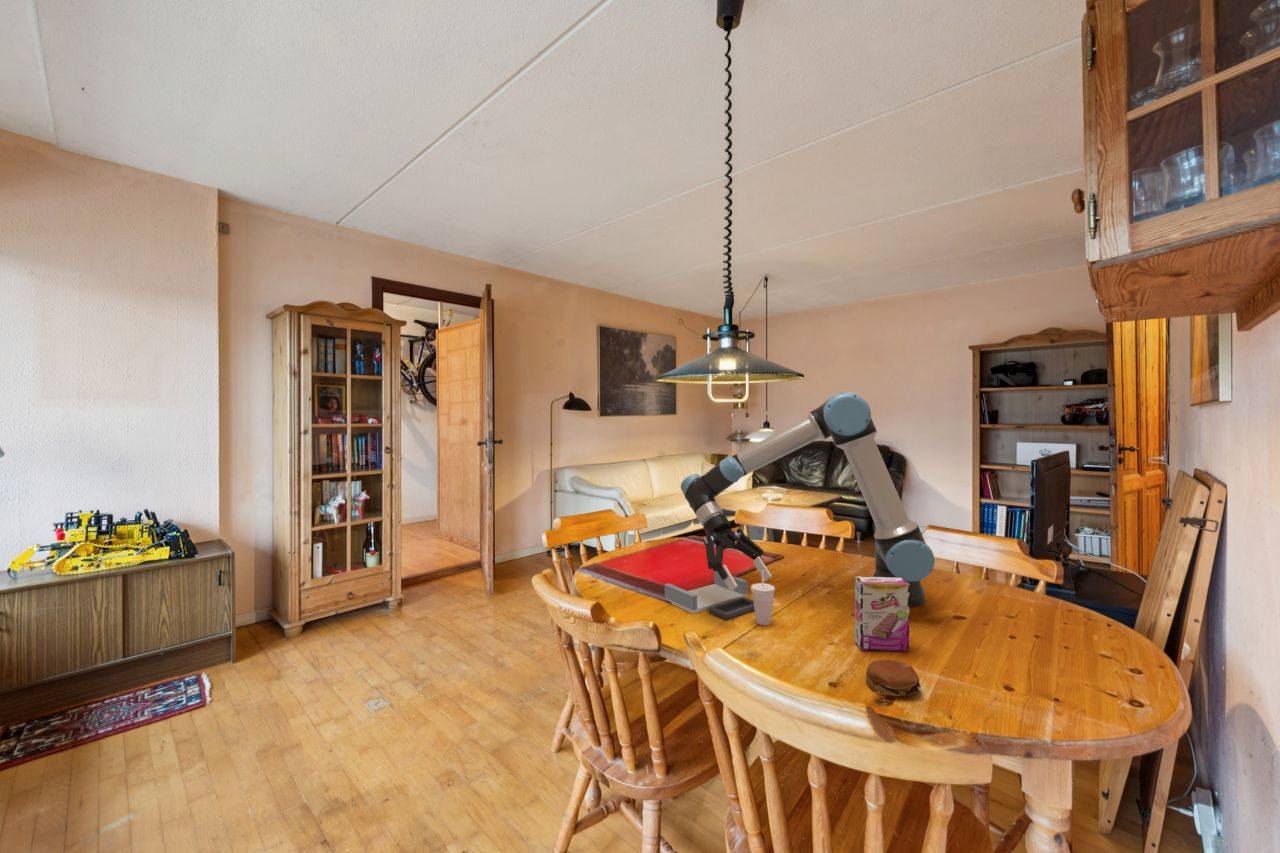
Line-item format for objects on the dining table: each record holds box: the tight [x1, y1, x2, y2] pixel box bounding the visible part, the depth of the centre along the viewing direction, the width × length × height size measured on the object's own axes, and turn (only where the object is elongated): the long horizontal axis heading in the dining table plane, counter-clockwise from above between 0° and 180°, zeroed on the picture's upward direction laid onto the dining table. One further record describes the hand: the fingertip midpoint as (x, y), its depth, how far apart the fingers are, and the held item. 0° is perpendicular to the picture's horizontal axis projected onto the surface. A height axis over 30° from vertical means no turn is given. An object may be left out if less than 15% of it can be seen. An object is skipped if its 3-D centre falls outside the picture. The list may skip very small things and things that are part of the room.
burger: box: [865, 659, 921, 697], centre depth 103 cm, size 10×9×5 cm
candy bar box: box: [854, 575, 910, 653], centre depth 121 cm, size 11×5×16 cm, turn 84°
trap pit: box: [708, 597, 755, 621], centre depth 145 cm, size 7×14×2 cm, turn 125°
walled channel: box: [664, 571, 748, 615], centre depth 155 cm, size 13×22×5 cm, turn 125°
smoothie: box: [750, 570, 776, 626], centre depth 136 cm, size 6×6×14 cm
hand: (751, 583), depth 139 cm, fingers open, 13 cm apart
